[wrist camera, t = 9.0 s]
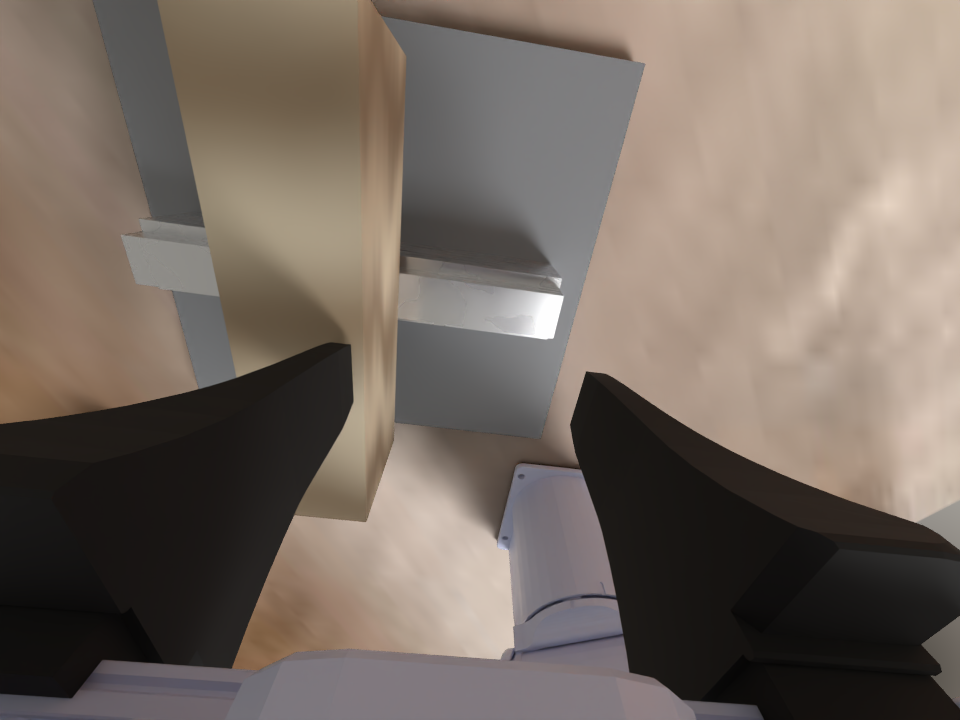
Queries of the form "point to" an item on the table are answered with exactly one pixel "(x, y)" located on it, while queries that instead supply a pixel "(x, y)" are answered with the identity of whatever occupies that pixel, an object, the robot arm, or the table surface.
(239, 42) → the beech bar
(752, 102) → the table surface
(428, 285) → the metal ridge
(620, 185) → the table surface
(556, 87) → the base plate
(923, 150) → the table surface
